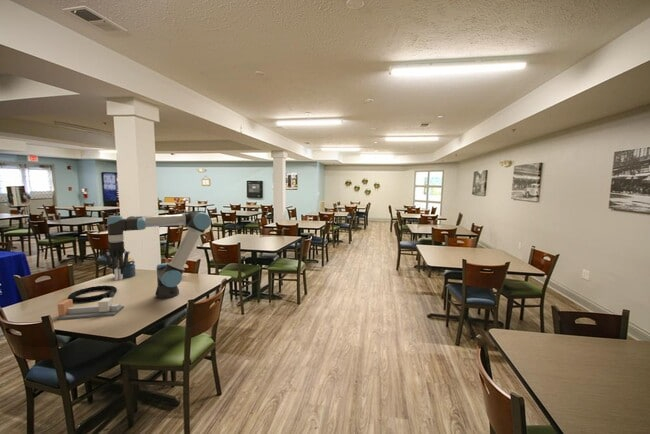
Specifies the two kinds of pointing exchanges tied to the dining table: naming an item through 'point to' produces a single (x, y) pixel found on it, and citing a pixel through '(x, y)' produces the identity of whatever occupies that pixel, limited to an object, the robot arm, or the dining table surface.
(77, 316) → the rail board
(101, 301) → the block
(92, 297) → the cable lock
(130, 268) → the canister
